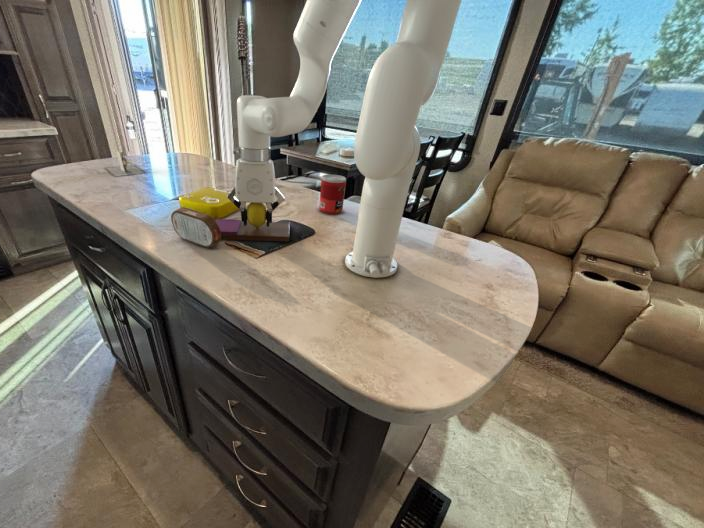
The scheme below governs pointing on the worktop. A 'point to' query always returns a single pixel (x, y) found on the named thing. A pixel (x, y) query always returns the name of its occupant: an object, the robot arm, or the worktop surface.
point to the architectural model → (124, 167)
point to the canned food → (332, 194)
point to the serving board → (260, 232)
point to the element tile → (209, 202)
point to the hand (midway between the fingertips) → (257, 223)
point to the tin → (196, 227)
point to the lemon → (256, 214)
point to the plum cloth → (228, 225)
